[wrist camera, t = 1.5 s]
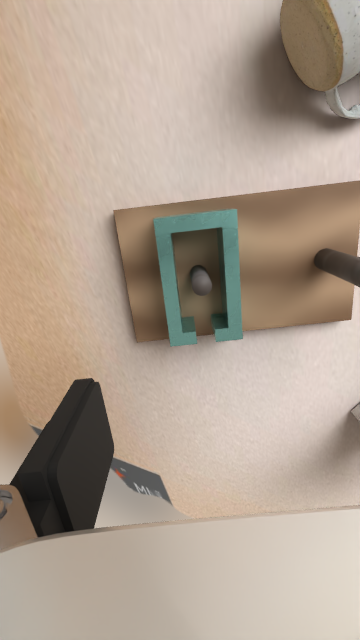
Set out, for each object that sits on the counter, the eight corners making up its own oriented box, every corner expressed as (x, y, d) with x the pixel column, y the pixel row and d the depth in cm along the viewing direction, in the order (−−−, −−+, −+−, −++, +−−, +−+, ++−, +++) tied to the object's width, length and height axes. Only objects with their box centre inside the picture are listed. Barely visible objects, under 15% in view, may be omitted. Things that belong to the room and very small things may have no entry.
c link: (156, 217, 27) (153, 219, 24) (228, 208, 27) (236, 209, 23) (171, 329, 31) (170, 346, 28) (234, 322, 31) (242, 338, 27)
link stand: (116, 210, 29) (44, 216, 13) (354, 181, 28) (573, 151, 12) (138, 336, 33) (104, 450, 18) (343, 314, 32) (494, 414, 17)
